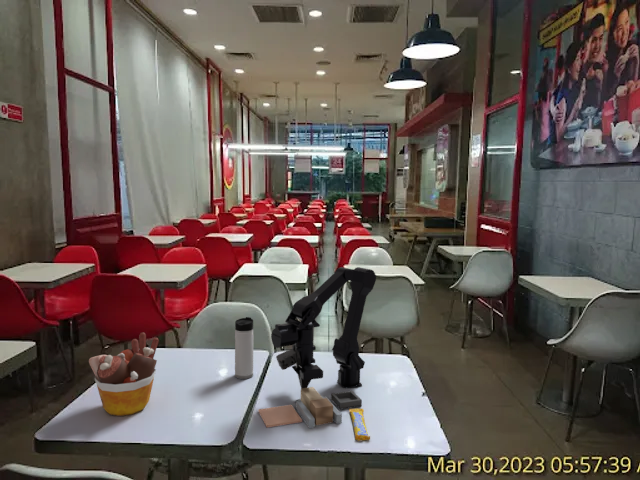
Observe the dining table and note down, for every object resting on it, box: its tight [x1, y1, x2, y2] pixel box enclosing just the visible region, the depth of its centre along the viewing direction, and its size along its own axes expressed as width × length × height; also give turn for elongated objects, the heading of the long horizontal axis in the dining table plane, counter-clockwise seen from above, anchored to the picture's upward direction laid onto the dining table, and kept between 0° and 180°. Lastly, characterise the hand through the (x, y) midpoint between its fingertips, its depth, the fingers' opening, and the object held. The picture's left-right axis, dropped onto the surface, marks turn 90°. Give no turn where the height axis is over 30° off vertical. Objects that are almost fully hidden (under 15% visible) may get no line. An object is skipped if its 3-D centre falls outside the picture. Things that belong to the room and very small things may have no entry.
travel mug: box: [234, 316, 254, 380], centre depth 158 cm, size 6×7×20 cm
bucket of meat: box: [88, 332, 160, 417], centre depth 133 cm, size 20×16×20 cm
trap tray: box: [330, 390, 363, 411], centre depth 139 cm, size 7×7×2 cm
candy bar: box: [348, 408, 371, 442], centre depth 125 cm, size 17×4×2 cm, turn 1°
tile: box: [257, 404, 303, 428], centre depth 130 cm, size 10×10×1 cm
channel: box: [295, 396, 343, 429], centre depth 130 cm, size 10×12×2 cm
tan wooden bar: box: [300, 386, 323, 412], centre depth 135 cm, size 4×9×4 cm, turn 21°
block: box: [310, 397, 334, 426], centre depth 128 cm, size 5×5×5 cm
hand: (303, 390), depth 142 cm, fingers closed
